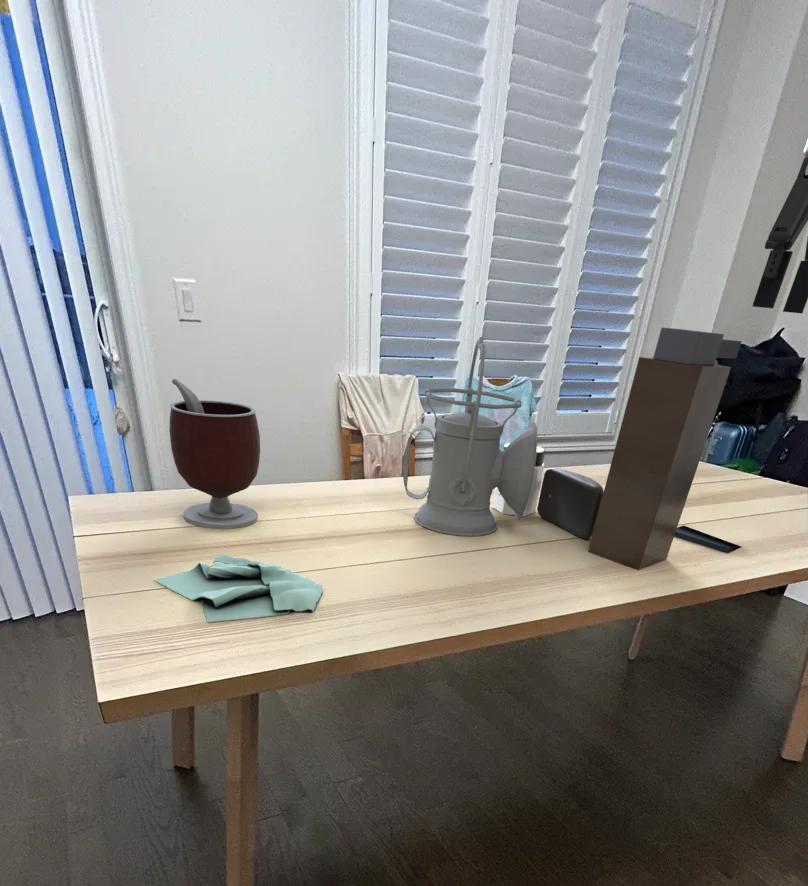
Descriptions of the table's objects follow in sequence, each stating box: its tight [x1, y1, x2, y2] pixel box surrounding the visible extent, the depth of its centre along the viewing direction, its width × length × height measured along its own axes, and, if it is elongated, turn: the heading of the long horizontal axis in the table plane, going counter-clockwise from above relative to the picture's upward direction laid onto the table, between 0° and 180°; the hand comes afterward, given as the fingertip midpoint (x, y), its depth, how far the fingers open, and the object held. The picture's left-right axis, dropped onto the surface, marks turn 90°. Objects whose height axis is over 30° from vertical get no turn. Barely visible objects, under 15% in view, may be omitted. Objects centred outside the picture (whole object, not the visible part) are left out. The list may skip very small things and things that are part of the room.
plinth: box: [587, 356, 732, 571], centre depth 103 cm, size 10×10×30 cm
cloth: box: [153, 555, 324, 623], centre depth 84 cm, size 20×22×2 cm
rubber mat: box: [674, 524, 742, 555], centre depth 126 cm, size 16×12×1 cm
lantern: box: [402, 336, 538, 537], centre depth 110 cm, size 21×22×30 cm
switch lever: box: [653, 327, 742, 365], centre depth 97 cm, size 20×6×4 cm, turn 134°
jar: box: [491, 442, 546, 518], centre depth 126 cm, size 9×8×12 cm
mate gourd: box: [169, 378, 261, 530], centre depth 103 cm, size 16×14×20 cm
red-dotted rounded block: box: [536, 467, 604, 540], centre depth 120 cm, size 16×5×9 cm, turn 26°
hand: (778, 310), depth 95 cm, fingers open, 13 cm apart
